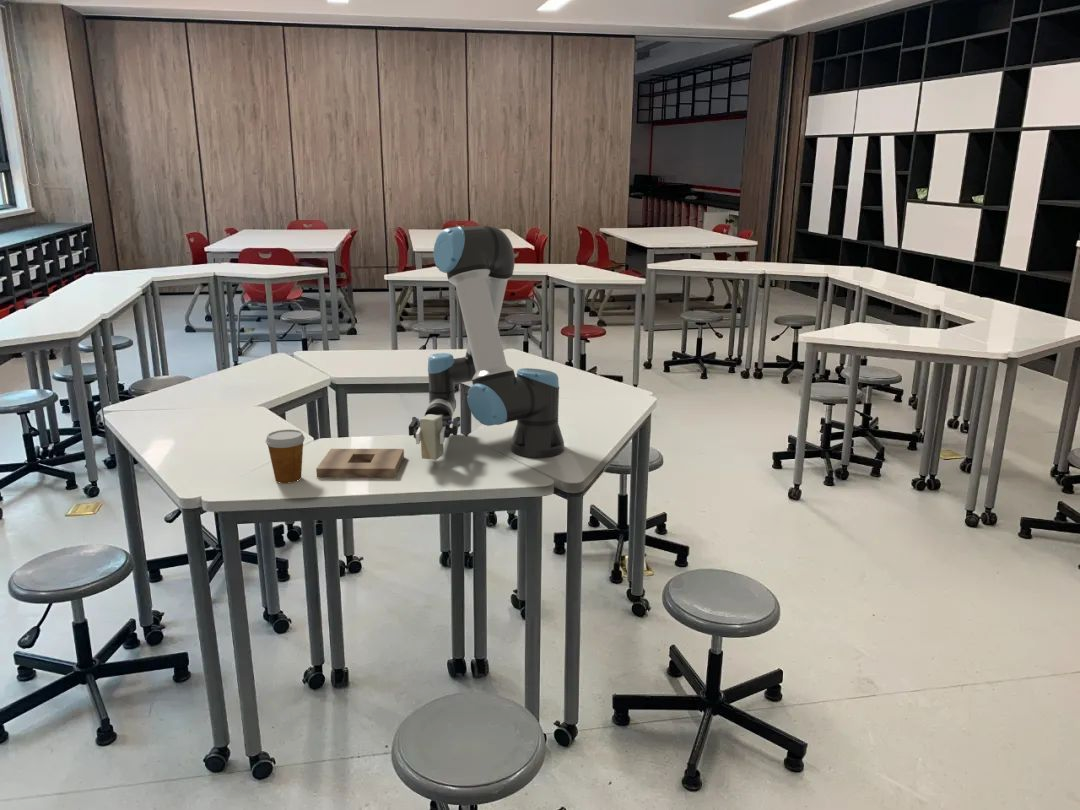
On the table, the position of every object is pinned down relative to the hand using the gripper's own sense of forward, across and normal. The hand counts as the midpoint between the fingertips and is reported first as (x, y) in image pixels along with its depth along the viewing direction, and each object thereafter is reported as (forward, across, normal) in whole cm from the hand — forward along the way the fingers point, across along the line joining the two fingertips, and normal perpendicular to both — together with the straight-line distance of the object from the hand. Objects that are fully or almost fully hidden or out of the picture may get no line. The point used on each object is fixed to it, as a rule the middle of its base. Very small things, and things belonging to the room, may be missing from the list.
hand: (429, 439), depth 210 cm
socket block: (-5, +19, -9) cm, 22 cm away
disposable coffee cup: (+4, +36, -9) cm, 37 cm away
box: (-5, 0, -7) cm, 9 cm away
